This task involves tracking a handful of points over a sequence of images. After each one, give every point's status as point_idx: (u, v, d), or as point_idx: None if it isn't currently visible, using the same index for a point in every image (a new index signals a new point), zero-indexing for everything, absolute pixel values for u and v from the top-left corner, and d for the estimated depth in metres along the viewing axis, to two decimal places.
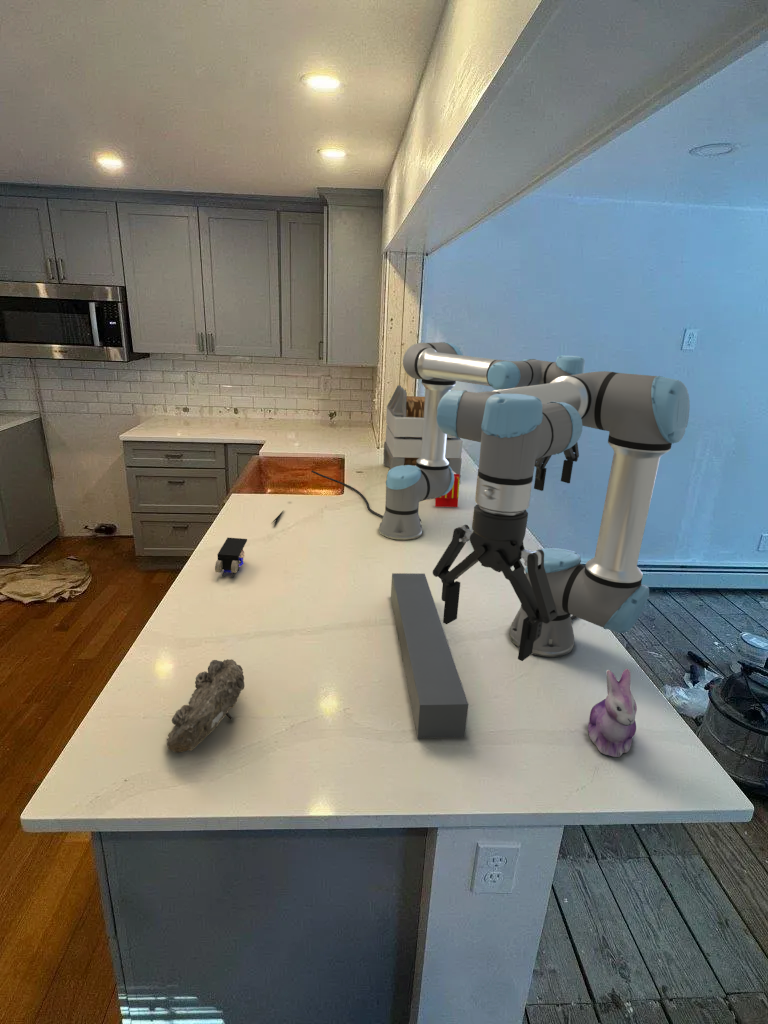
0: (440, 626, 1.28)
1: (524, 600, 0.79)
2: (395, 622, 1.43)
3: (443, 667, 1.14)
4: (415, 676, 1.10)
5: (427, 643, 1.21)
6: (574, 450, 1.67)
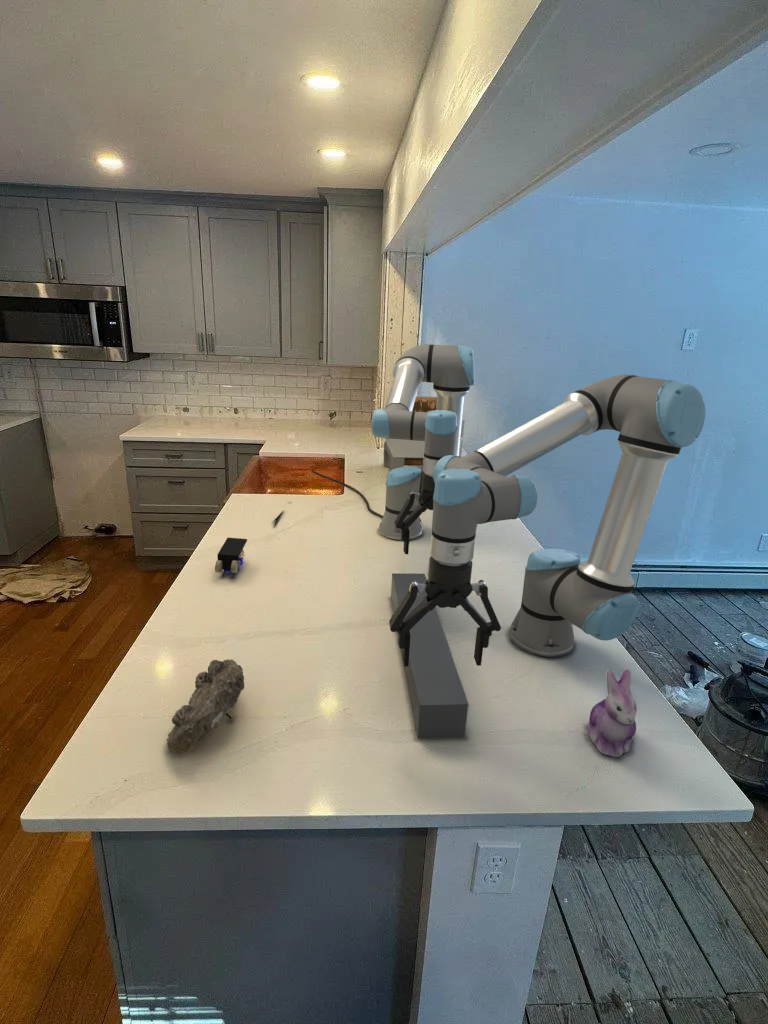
0: (440, 626, 1.28)
1: (480, 621, 1.02)
2: None
3: (443, 667, 1.14)
4: (415, 676, 1.10)
5: (427, 643, 1.21)
6: None
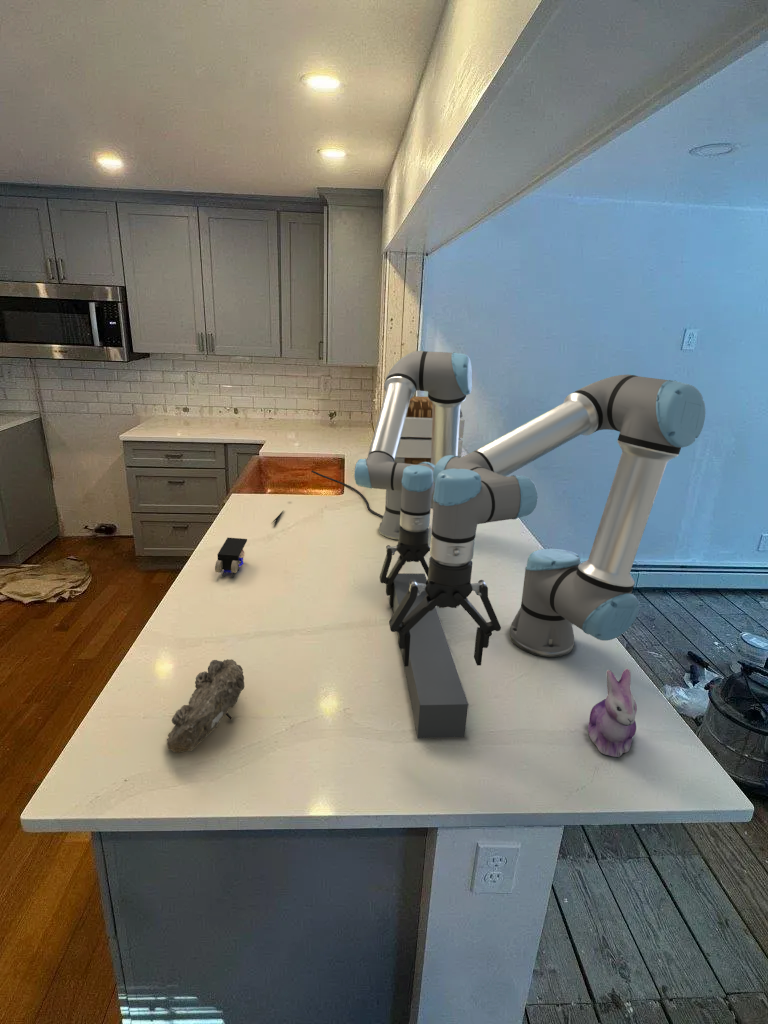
0: (440, 626, 1.28)
1: (480, 621, 1.02)
2: None
3: (443, 667, 1.14)
4: (415, 676, 1.10)
5: (427, 643, 1.21)
6: None
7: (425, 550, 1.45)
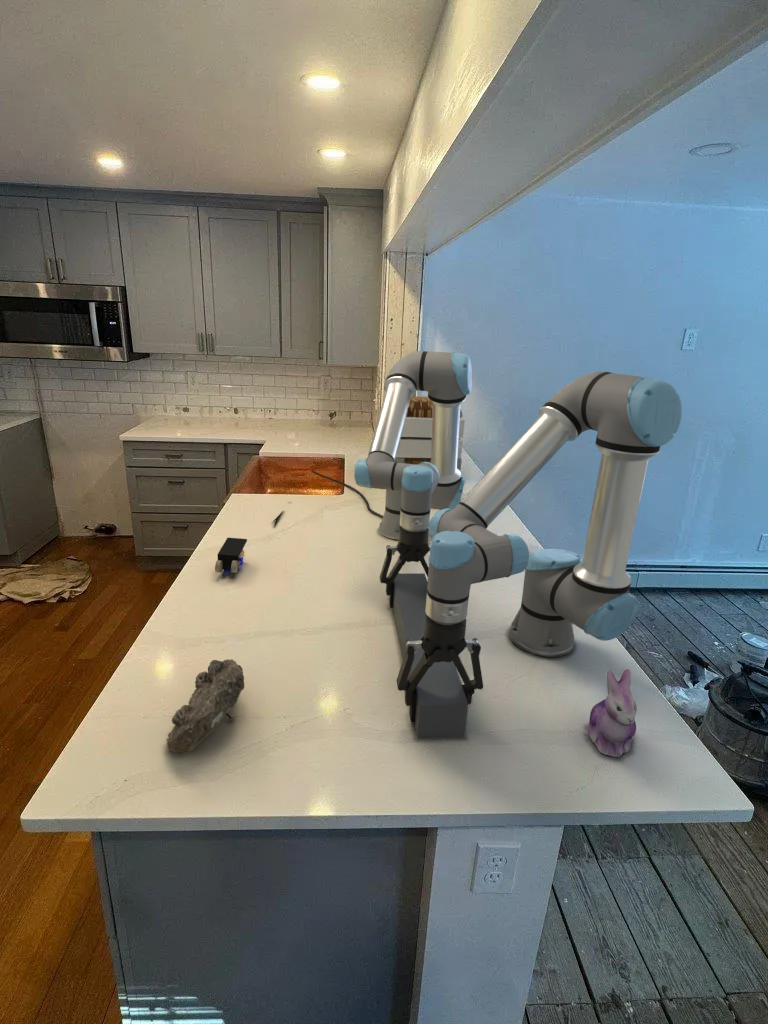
0: None
1: (466, 678, 1.06)
2: (395, 622, 1.43)
3: (443, 667, 1.14)
4: None
5: None
6: None
7: (425, 550, 1.45)
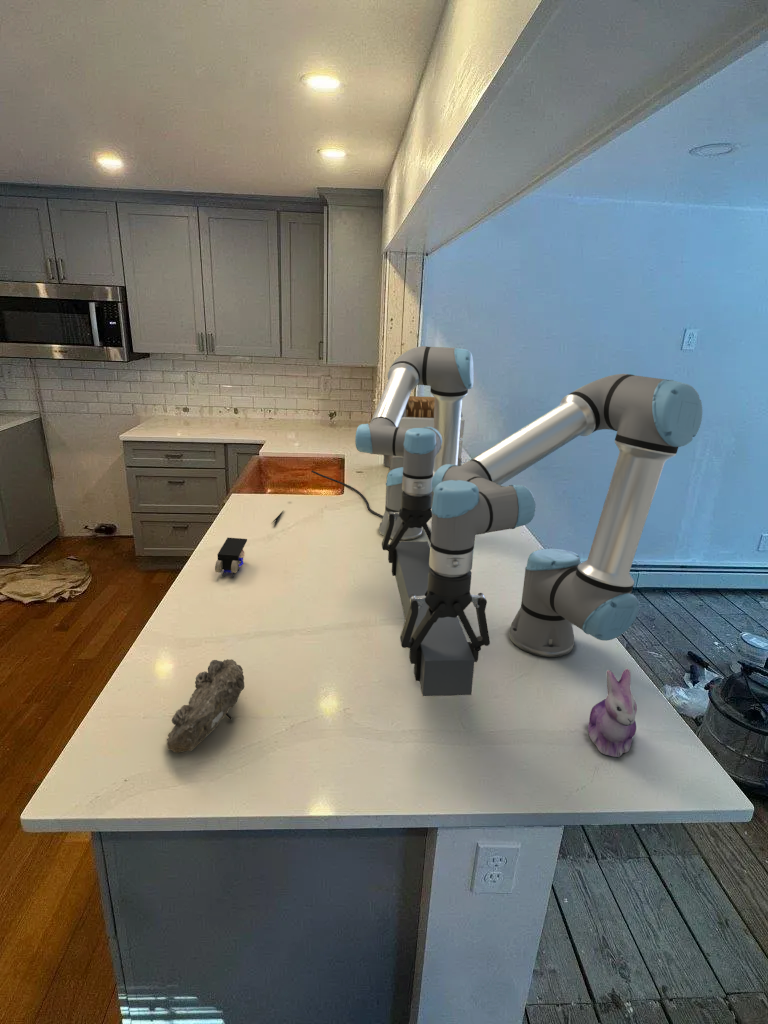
0: None
1: (472, 634, 1.03)
2: (398, 589, 1.40)
3: (448, 626, 1.11)
4: None
5: None
6: None
7: (428, 516, 1.42)
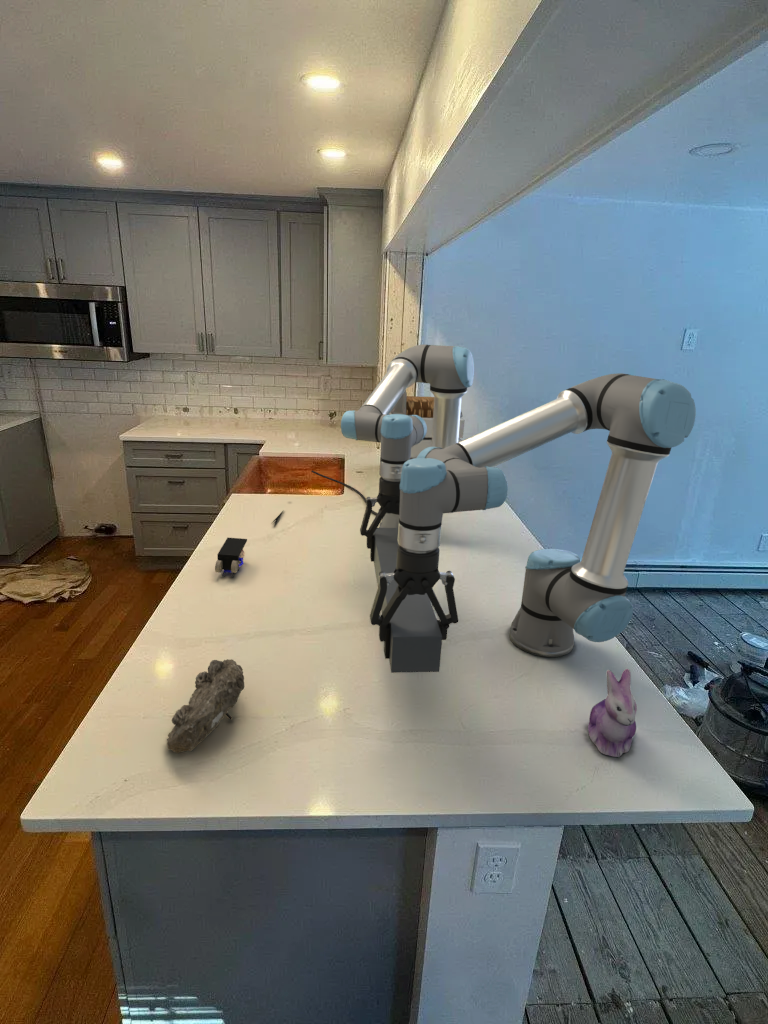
0: None
1: (440, 612, 1.04)
2: None
3: (419, 605, 1.12)
4: None
5: None
6: None
7: None
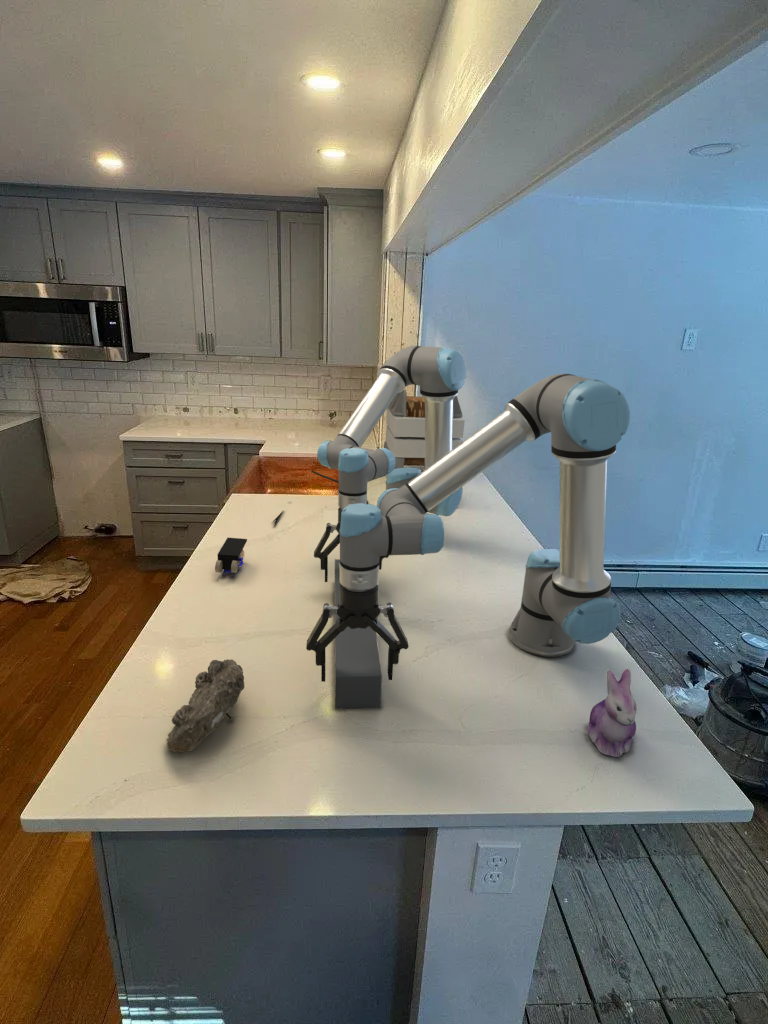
0: None
1: (388, 640, 1.12)
2: None
3: (365, 643, 1.21)
4: (336, 651, 1.17)
5: None
6: None
7: None
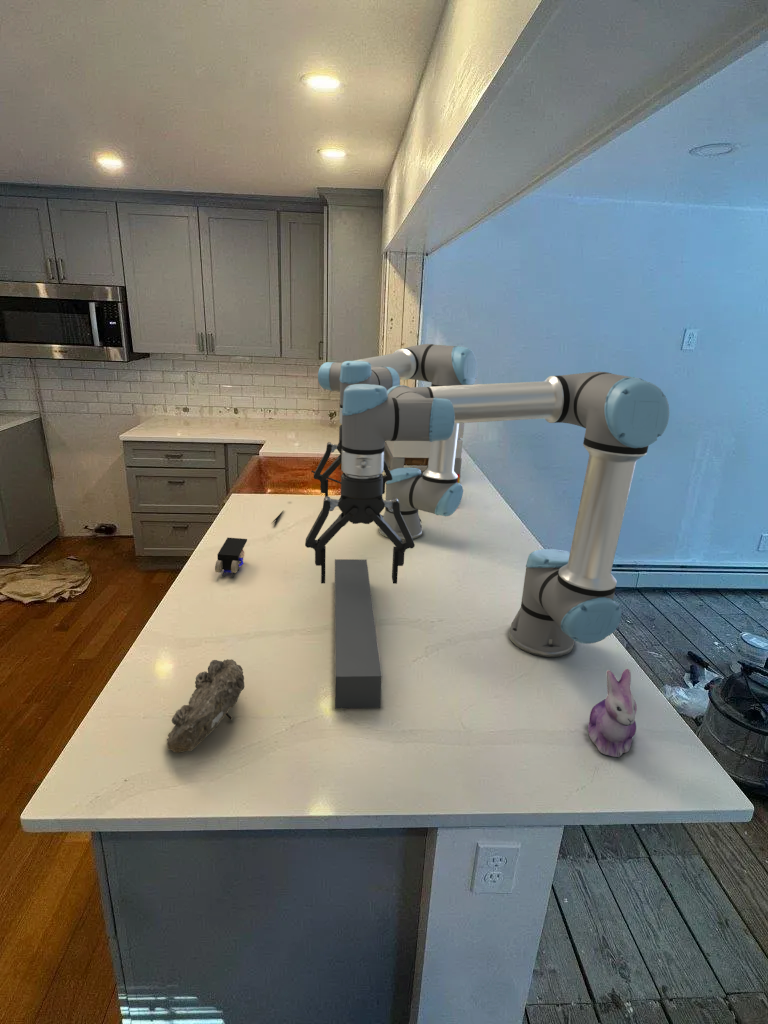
0: (370, 607, 1.35)
1: (393, 537, 1.05)
2: None
3: (365, 643, 1.21)
4: (336, 651, 1.17)
5: (354, 622, 1.28)
6: (384, 470, 1.46)
7: None
